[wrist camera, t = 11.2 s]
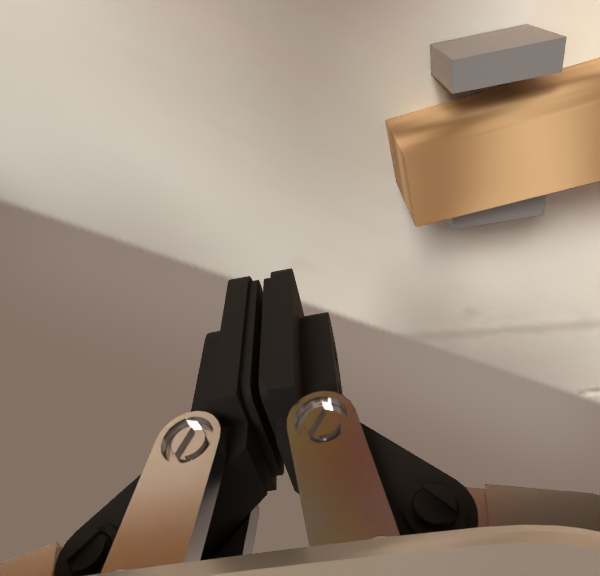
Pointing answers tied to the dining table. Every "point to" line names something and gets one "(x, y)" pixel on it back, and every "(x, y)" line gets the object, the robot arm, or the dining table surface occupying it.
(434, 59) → the sleeve
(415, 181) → the slat
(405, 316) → the dining table surface
